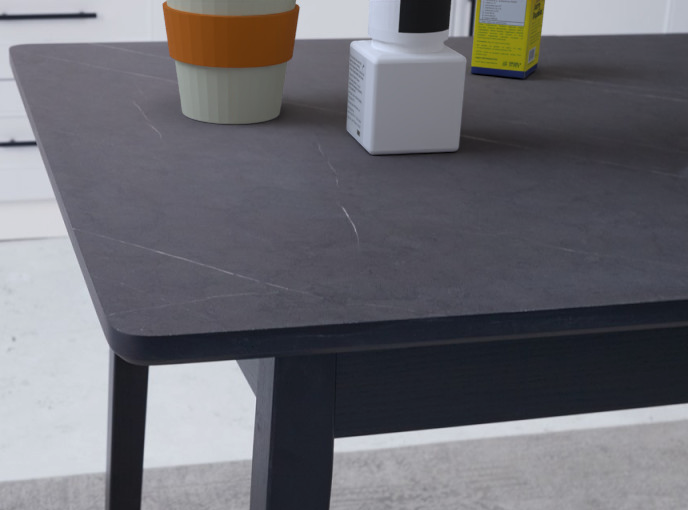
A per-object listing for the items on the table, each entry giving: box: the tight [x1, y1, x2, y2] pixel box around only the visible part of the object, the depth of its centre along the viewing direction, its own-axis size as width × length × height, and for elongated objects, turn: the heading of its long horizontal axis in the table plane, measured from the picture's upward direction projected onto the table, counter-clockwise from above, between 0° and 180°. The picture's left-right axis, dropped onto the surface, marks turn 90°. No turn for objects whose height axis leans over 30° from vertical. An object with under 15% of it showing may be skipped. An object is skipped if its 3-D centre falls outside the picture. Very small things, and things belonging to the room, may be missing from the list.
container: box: [346, 0, 467, 156], centre depth 95 cm, size 8×8×13 cm
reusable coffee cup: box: [162, 0, 301, 125], centre depth 102 cm, size 13×13×15 cm
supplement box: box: [470, 0, 546, 80], centre depth 121 cm, size 6×6×11 cm
